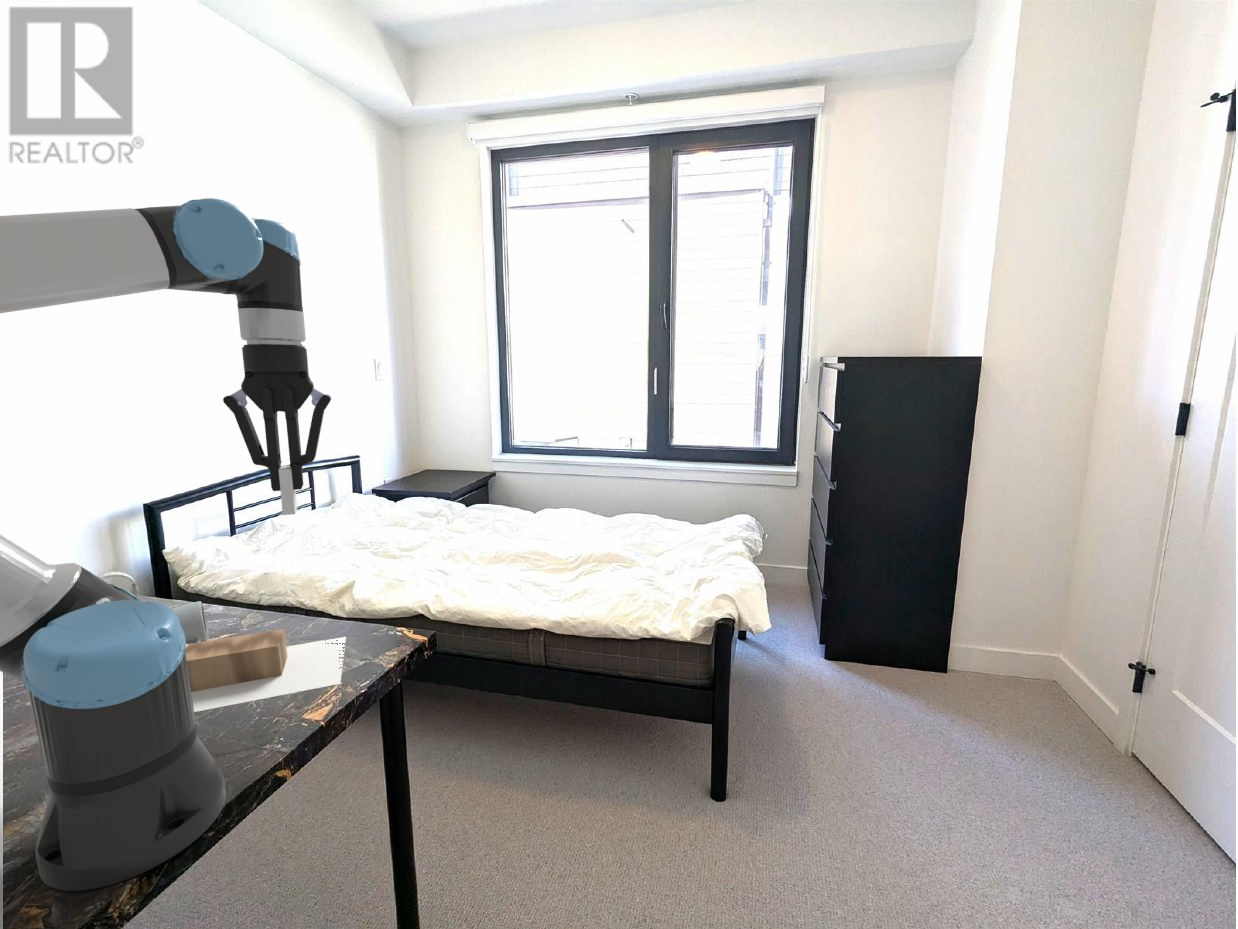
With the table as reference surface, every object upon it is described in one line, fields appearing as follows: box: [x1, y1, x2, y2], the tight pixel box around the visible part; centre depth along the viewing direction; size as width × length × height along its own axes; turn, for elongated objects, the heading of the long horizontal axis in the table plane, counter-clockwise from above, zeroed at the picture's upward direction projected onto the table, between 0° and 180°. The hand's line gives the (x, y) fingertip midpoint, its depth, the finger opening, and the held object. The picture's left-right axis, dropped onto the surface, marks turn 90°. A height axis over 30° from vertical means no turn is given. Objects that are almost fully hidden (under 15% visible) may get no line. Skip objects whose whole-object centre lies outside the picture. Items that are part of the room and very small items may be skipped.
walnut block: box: [185, 628, 287, 692], centre depth 87 cm, size 6×5×14 cm
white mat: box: [191, 636, 347, 713], centre depth 89 cm, size 16×22×1 cm
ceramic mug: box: [171, 600, 210, 644], centre depth 94 cm, size 11×8×8 cm
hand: (290, 512), depth 80 cm, fingers closed
